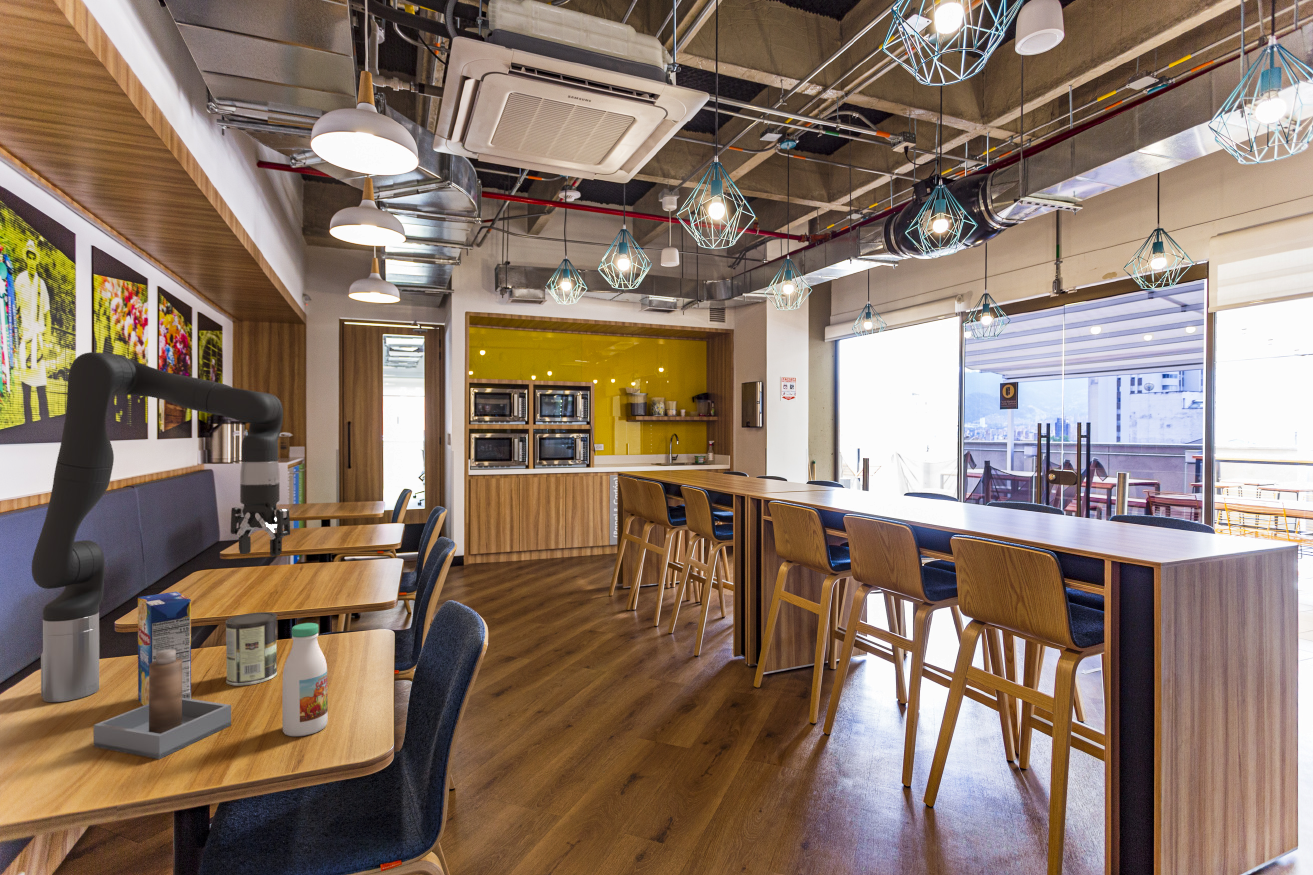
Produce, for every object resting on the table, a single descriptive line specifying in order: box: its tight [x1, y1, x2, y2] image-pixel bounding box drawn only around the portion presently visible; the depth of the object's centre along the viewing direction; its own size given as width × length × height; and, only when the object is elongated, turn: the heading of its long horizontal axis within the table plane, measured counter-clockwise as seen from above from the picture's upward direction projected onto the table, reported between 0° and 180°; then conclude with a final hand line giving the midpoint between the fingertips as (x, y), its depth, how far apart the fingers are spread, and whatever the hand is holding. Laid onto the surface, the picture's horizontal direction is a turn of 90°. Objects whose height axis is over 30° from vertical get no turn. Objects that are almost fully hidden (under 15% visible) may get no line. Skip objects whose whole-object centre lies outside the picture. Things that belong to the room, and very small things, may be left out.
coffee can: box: [225, 611, 278, 687], centre depth 155 cm, size 10×10×14 cm
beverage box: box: [137, 591, 192, 706], centre depth 141 cm, size 7×11×22 cm, turn 49°
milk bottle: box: [281, 622, 329, 737], centre depth 128 cm, size 8×8×20 cm
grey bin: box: [93, 698, 232, 760], centre depth 125 cm, size 16×14×4 cm
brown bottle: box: [149, 649, 182, 734], centre depth 125 cm, size 5×5×15 cm
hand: (260, 554), depth 148 cm, fingers open, 8 cm apart
